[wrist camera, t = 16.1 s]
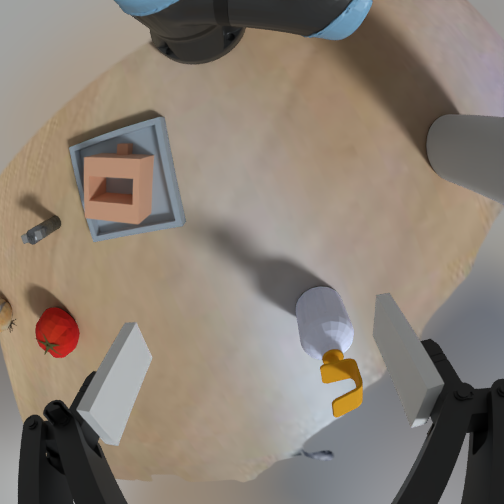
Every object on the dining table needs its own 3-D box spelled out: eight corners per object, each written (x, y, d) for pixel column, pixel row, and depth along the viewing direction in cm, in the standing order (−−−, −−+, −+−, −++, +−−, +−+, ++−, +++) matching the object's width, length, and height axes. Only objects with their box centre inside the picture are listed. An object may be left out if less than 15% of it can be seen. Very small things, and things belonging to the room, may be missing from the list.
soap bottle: (291, 291, 54) (306, 396, 32) (339, 280, 53) (380, 378, 30) (299, 328, 58) (314, 431, 35) (343, 318, 56) (377, 416, 34)
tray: (76, 146, 44) (69, 147, 42) (164, 117, 42) (159, 116, 40) (99, 237, 51) (93, 242, 49) (186, 221, 49) (182, 226, 47)
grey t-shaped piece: (44, 218, 50) (20, 232, 42) (64, 212, 49) (39, 227, 41) (48, 231, 51) (24, 246, 43) (68, 226, 50) (43, 241, 43)
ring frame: (101, 208, 48) (85, 218, 43) (102, 142, 43) (84, 145, 38) (151, 213, 48) (138, 224, 43) (155, 144, 44) (141, 146, 38)
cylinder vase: (454, 102, 38) (556, 106, 15) (482, 157, 42) (577, 190, 19) (412, 137, 42) (516, 157, 19) (444, 193, 45) (537, 245, 22)
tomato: (57, 337, 63) (39, 362, 53) (44, 296, 58) (21, 319, 48) (91, 346, 63) (74, 373, 53) (79, 303, 58) (57, 330, 48)
